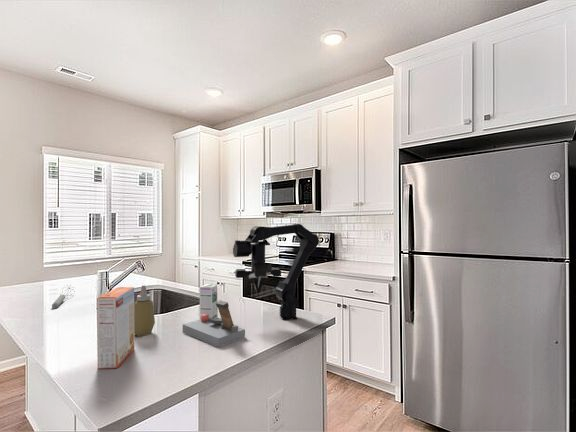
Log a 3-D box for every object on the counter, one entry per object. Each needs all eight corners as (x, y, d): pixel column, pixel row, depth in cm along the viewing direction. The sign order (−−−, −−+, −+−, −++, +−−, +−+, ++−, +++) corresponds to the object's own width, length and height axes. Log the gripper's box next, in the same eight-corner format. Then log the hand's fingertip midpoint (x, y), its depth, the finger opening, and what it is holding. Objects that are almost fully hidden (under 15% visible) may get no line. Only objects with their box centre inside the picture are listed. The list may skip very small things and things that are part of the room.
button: (205, 319, 133) (205, 313, 133) (210, 320, 131) (210, 314, 131) (199, 321, 131) (199, 314, 131) (203, 322, 129) (203, 316, 129)
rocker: (218, 322, 129) (219, 319, 130) (224, 324, 127) (224, 321, 127) (207, 321, 126) (208, 318, 126) (213, 323, 123) (214, 320, 124)
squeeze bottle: (131, 338, 120) (132, 288, 120) (130, 331, 127) (131, 284, 127) (156, 335, 123) (156, 286, 123) (153, 328, 131) (154, 282, 131)
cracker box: (116, 350, 109) (116, 286, 110) (135, 349, 110) (135, 286, 110) (95, 369, 96) (95, 296, 96) (117, 369, 96) (117, 296, 96)
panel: (208, 324, 136) (208, 312, 136) (245, 337, 122) (245, 324, 122) (182, 332, 127) (182, 319, 127) (218, 347, 112) (218, 333, 112)
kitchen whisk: (45, 310, 155) (46, 297, 155) (63, 295, 186) (63, 283, 186) (61, 309, 157) (61, 296, 157) (75, 294, 188) (76, 283, 188)
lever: (227, 326, 123) (219, 300, 121) (235, 329, 120) (227, 302, 118) (223, 329, 122) (215, 303, 119) (231, 332, 119) (223, 305, 116)
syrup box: (212, 321, 140) (212, 286, 140) (199, 320, 141) (199, 286, 141) (217, 317, 146) (217, 284, 146) (205, 316, 147) (205, 283, 147)
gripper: (237, 259, 130) (237, 299, 130) (284, 258, 134) (284, 296, 134) (235, 255, 140) (234, 292, 140) (278, 254, 145) (278, 290, 145)
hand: (258, 293), depth 140 cm, fingers closed
